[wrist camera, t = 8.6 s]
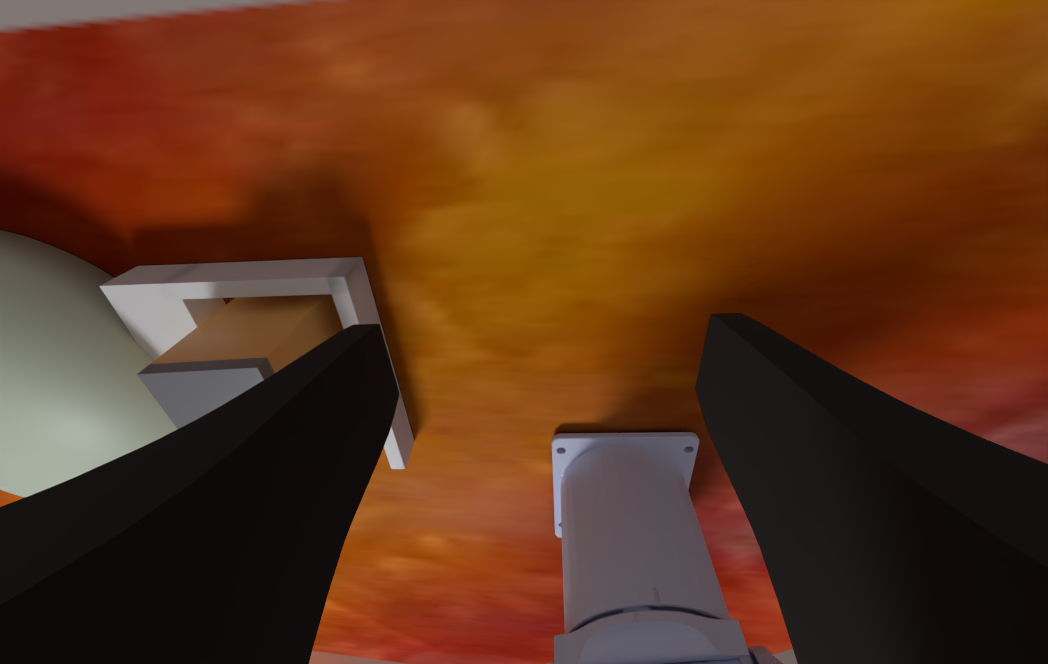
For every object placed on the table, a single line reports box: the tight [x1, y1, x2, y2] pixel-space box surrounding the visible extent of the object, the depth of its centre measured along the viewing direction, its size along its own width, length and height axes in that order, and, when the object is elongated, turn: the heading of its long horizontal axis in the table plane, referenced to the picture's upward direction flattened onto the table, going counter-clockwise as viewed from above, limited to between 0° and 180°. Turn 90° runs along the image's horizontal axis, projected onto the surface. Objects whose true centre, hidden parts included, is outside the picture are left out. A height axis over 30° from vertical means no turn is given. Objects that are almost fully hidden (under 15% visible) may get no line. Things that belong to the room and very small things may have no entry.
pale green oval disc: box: [0, 230, 414, 498], centre depth 21 cm, size 16×26×3 cm, turn 93°
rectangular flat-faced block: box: [137, 294, 344, 429], centre depth 20 cm, size 8×4×6 cm, turn 5°
